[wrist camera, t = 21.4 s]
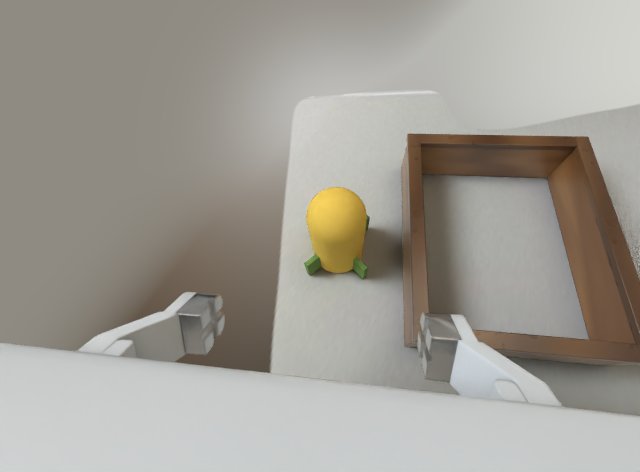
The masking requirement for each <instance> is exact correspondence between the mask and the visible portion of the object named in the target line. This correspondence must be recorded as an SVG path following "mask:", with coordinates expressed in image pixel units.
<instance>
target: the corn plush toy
mask: <svg viewBox="0 0 640 472" xmlns="http://www.w3.org/2000/svg"><path fill="white" fill-rule="evenodd" d="M306 218H307V225H308V229H309V233H310V237H311V241H312V245H313V249H314V253H315V256H313V257H312V258H311V259H309V260H308V261H307V262H306V263H305V267H306V269H307V272H308V274H309V275H312V274H313V273H314V272H316V271H317V270H318V269H319V268H321V267H322V268H324V269H325V270H327V271H329V272H333V273H345V272H348V271H350V270H352V269H353V270H354V271H355V272H356V273H357V274H358V275H359V276H360V277H361V278H362V279H364V278H366V275H367V269H368V268H367V267H366V265H365V264H364V263H363V262H362V261H361V258H362V253H363V245H364V237H365V231H367V230H368V225H369V218H370V217H369V216H368V215H367V214H366V209H365V206H364V204H363V202H362V200H361V199H360V198H359V197H358V196H357V195H356V194H355V193H354V192H352V191H350V190H348V189H345V188H341V187H333V188H328V189H325V190H323V191H321V192H320V193H318V194H317V195H316V196H315V197H314V198H313V199H312V201H311V202H310V204H309V207H308V210H307V216H306Z"/></svg>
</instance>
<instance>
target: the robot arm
mask: <svg viewBox="0 0 640 472" xmlns="http://www.w3.org/2000/svg"><path fill="white" fill-rule="evenodd" d="M222 306H223V300H222V297H221V296H220V295H212V294H203V293H193V292H185V293H183V294H182V295H181V296H180V297H179V298H178V299H177V300H176V301H175V302H173V303H172V304H171V305H170V306H169V307H168V308H167V309H166V310H165V311H164V312H158V313H155V314H152V315H150V316H147V317H145V318H142V319H139V320H137V321H134V322H131V323H129V324H126V325H123V326H121V327H118V328H115V329H113V330H110V331H107V332H105V333H102V334H99V335H97V336H95V337H94V338H93V339H91V340H90V341H89V342H88V343H86V344H85V345H84V346H83V347H81V348H80V349H79V350H77V351H70V350H61V349H52V348H44V347H35V346H27V345H18V344H9V343H0V472H640V415H631V414H622V413H613V412H604V411H596V410H587V409H578V408H569V407H563V406H562V404H561V403H560V401H559V400H558V399H557V397H556V396H555V394H554V393H553V392H552V390H551V389H550V388H549V386H548V385H547V384H546V383H545V382H543V381H542V380H540V379H539V378H537V377H536V376H534V375H532V374H531V373H529V372H528V371H526V370H525V369H523V368H522V367H520V366H519V365H517V364H515V363H514V362H512V361H511V360H509V359H508V358H506V357H505V356H503V355H502V354H500V353H499V352H497V351H495V350H494V349H492V348H491V347H489V346H488V345H486V344H485V343H483V342H478V340H477V338H476V336H475V334H474V333H473V331H472V329H471V327H470V325H469V324H468V322H467V320H466V318H465V316H463V315H453V314H434V313H422V314H421V318H420V324H421V328H422V329H421V330H420V331H419V332H418V353H419V357H420V358H421V359H422V365H421V366H422V369H423V373H424V377H425V379H427V380H435V381H442V382H449V384H450V385H451V386H452V387H453V388H454V389H455V390H456V391H457V392H458V393H459V394H460V395H456V394H447V393H439V392H430V391H421V390H412V389H404V388H395V387H386V386H377V385H368V384H360V383H351V382H342V381H333V380H324V379H316V378H307V377H298V376H289V375H281V374H272V373H263V372H254V371H246V370H245V371H244V370H237V369H228V368H219V367H211V366H202V365H192V364H184V363H176V362H175V361H176V360H178V359H179V358H181V357H182V356H184V355H185V354H186V353H187V354H198V355H206V354H207V353H208V352H209V350H210V349H211V347H212V346H213V344H214V340H213V339H215V338H217V337H219V335H220V334H221V332H222V330H223V327H224V322H225V317H224V313H223V312H222V311H221V309H220V308H221V307H222Z"/></svg>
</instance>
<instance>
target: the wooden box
mask: <svg viewBox="0 0 640 472" xmlns="http://www.w3.org/2000/svg"><path fill="white" fill-rule="evenodd" d="M422 174H441V175H473V176H504V177H536V178H547V180H548V184H549V188H550V192H551V195H552V199H553V203H554V207H555V211H556V214H557V218H558V222H559V226H560V230H561V233H562V237H563V241H564V245H565V249H566V252H567V256H568V260H569V264H570V268H571V272H572V275H573V279H574V283H575V287H576V291H577V294H578V298H579V302H580V306H581V310H582V313H583V317H584V321H585V325H586V329H587V332H588V336H589V340H585V339H574V338H562V337H551V336H539V335H528V334H516V333H505V332H494V331H482V330H472V331H473V333H474V334H475V336H476V338H477V340H478V342H483V343H485V344H486V345H488V346H489V347H491V348H492V349H494V350H495V351H497V352H499V353H500V354H502V355H503V356H509V357H520V358H530V359H541V360H551V361H561V362H572V363H582V364H593V365H603V366H614V365H632V364H640V280H639V277H638V274H637V272H636V269H635V266H634V263H633V261H632V258H631V255H630V252H629V249H628V247H627V244H626V241H625V238H624V235H623V233H622V230H621V227H620V224H619V221H618V219H617V216H616V213H615V210H614V207H613V205H612V202H611V199H610V196H609V193H608V191H607V188H606V185H605V182H604V179H603V177H602V174H601V171H600V168H599V165H598V163H597V160H596V157H595V154H594V151H593V149H592V146H591V143H590V140H589V137H568V136H509V135H450V134H408V135H407V147H406V151H405V155H404V159H403V163H402V167H401V178H402V240H403V301H404V346H405V347H416V348H418V332H419V331H420V330H421V329H422V328H421V324H420V318H421V314H422V313H429V297H428V278H427V258H426V239H425V220H424V200H423V181H422Z"/></svg>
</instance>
